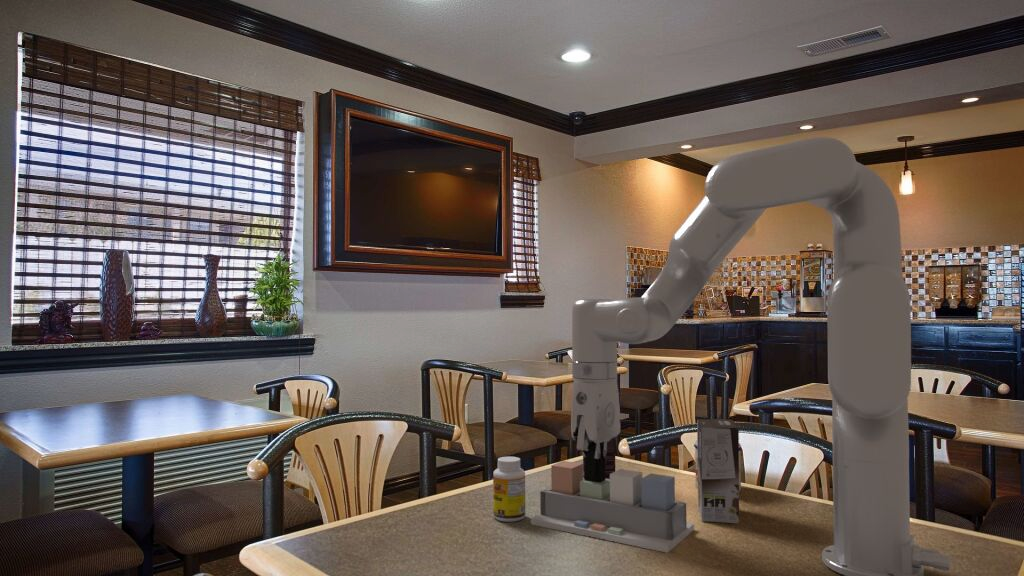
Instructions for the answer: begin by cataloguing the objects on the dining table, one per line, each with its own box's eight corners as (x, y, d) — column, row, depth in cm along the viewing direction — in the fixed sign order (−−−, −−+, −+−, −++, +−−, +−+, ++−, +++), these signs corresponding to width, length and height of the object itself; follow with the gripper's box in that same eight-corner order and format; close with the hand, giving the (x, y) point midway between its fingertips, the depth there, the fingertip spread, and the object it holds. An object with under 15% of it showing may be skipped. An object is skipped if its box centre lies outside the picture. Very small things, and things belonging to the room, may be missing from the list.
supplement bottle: (489, 514, 120) (489, 456, 120) (519, 511, 121) (519, 454, 122) (498, 524, 114) (498, 463, 115) (529, 521, 116) (529, 461, 116)
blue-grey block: (674, 508, 109) (674, 476, 109) (665, 514, 106) (665, 482, 106) (651, 504, 111) (650, 473, 111) (641, 510, 108) (641, 478, 108)
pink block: (583, 492, 118) (582, 463, 118) (572, 498, 115) (571, 468, 115) (562, 489, 120) (562, 460, 120) (551, 494, 117) (551, 465, 117)
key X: (642, 502, 112) (642, 472, 112) (632, 508, 109) (632, 477, 109) (620, 498, 114) (619, 468, 114) (610, 504, 111) (609, 474, 111)
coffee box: (740, 524, 114) (739, 427, 114) (701, 522, 115) (700, 426, 116) (734, 508, 123) (733, 418, 123) (697, 506, 124) (696, 417, 124)
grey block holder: (694, 529, 111) (693, 499, 111) (667, 552, 101) (667, 519, 101) (565, 506, 124) (565, 478, 125) (530, 524, 114) (530, 494, 114)
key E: (612, 509, 115) (611, 479, 115) (601, 515, 112) (601, 485, 112) (590, 505, 117) (590, 476, 117) (580, 511, 114) (579, 481, 114)
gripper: (594, 377, 107) (594, 494, 106) (633, 369, 119) (633, 474, 119) (553, 374, 111) (553, 487, 110) (594, 366, 123) (594, 468, 123)
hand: (594, 480), depth 115 cm, fingers closed
